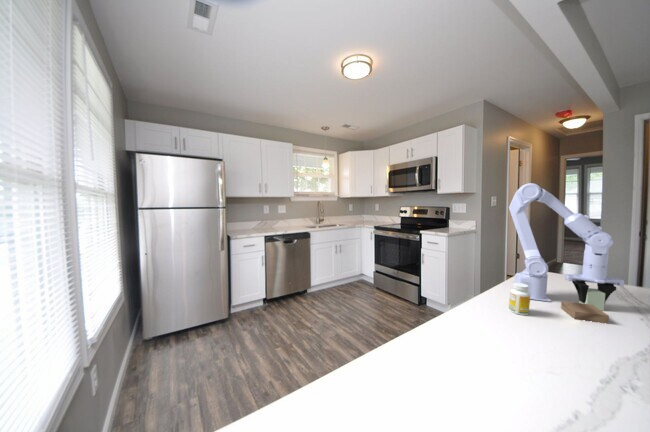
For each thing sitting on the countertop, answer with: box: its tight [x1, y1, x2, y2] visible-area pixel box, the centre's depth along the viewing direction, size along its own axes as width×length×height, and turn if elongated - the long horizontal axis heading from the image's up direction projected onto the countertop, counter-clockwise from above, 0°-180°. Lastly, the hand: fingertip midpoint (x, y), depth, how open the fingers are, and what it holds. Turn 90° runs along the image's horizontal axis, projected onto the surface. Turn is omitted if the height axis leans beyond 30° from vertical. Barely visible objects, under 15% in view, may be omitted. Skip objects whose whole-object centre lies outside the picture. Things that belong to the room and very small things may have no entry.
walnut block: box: [560, 300, 610, 325], centre depth 80 cm, size 8×8×3 cm
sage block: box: [578, 287, 606, 312], centre depth 86 cm, size 4×4×6 cm
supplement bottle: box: [508, 282, 531, 316], centre depth 83 cm, size 5×5×10 cm
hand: (591, 302), depth 86 cm, fingers closed on sage block, 4 cm apart
